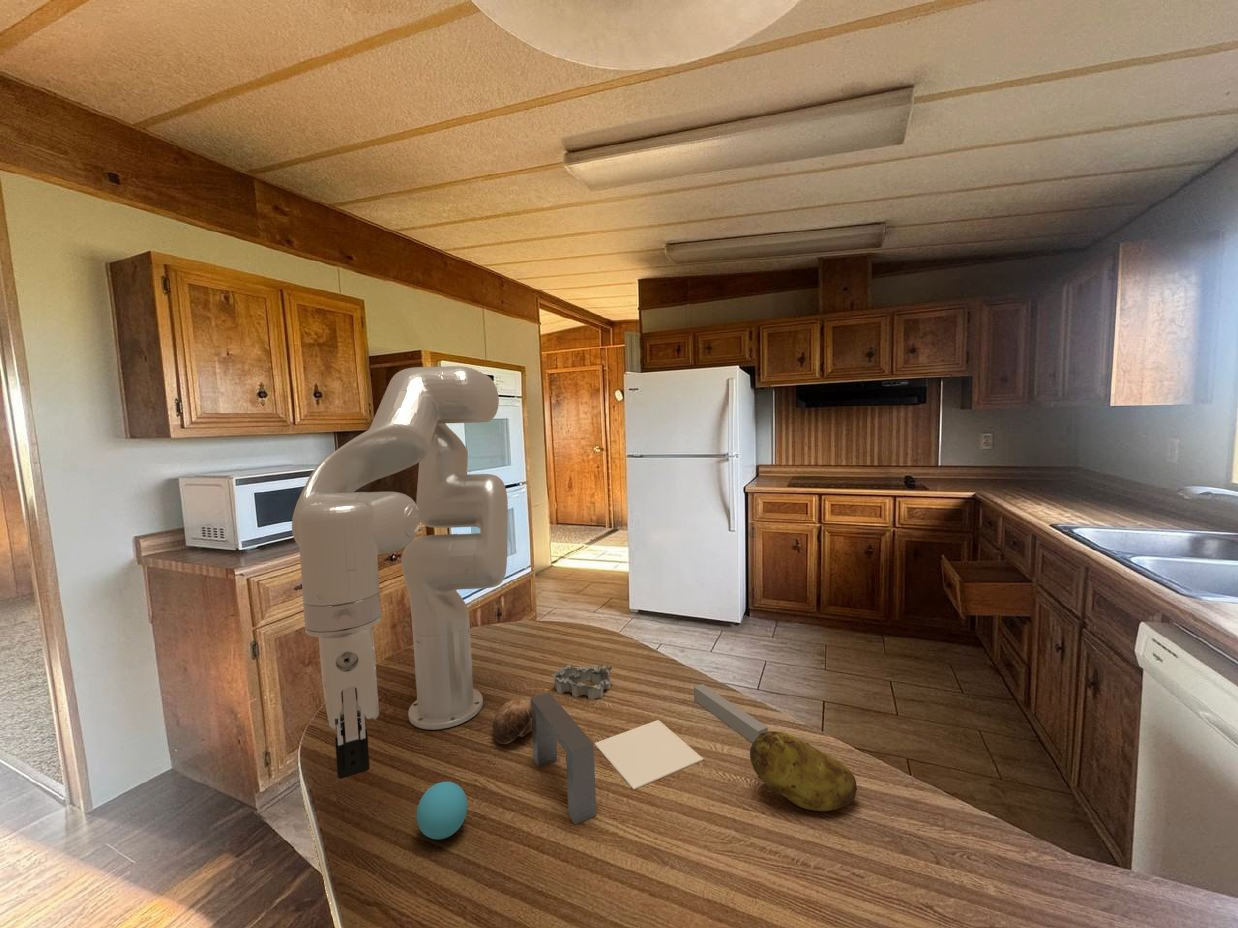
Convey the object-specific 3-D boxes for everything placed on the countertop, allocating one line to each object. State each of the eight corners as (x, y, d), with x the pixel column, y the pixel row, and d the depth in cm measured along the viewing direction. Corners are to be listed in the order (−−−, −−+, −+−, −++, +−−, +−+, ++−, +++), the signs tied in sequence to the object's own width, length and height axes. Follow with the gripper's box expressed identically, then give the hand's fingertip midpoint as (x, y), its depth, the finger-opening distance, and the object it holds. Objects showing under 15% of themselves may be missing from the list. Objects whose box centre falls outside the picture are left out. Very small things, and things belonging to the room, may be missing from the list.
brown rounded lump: (554, 708, 87) (530, 683, 86) (534, 752, 80) (507, 725, 79) (524, 718, 91) (500, 694, 90) (502, 761, 84) (476, 736, 83)
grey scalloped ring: (615, 686, 101) (614, 666, 100) (596, 704, 94) (596, 683, 94) (569, 675, 105) (569, 656, 105) (549, 692, 99) (548, 672, 99)
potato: (849, 839, 62) (849, 775, 62) (743, 800, 69) (743, 742, 68) (859, 795, 69) (859, 738, 69) (762, 764, 76) (762, 712, 75)
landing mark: (594, 744, 82) (594, 743, 82) (658, 720, 88) (658, 719, 88) (633, 789, 72) (633, 788, 72) (703, 759, 78) (703, 758, 78)
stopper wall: (694, 700, 94) (693, 686, 94) (703, 696, 95) (702, 683, 95) (758, 746, 80) (758, 731, 80) (767, 742, 81) (767, 727, 81)
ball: (414, 826, 67) (411, 781, 66) (462, 807, 69) (460, 764, 69) (422, 859, 61) (419, 811, 61) (474, 838, 64) (471, 792, 64)
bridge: (574, 824, 66) (571, 751, 65) (533, 759, 79) (530, 697, 78) (596, 815, 67) (593, 743, 67) (552, 753, 80) (549, 692, 80)
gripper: (386, 625, 54) (397, 797, 55) (375, 589, 67) (383, 729, 68) (301, 641, 50) (314, 825, 51) (306, 600, 63) (316, 748, 64)
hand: (353, 770), depth 59 cm, fingers closed
